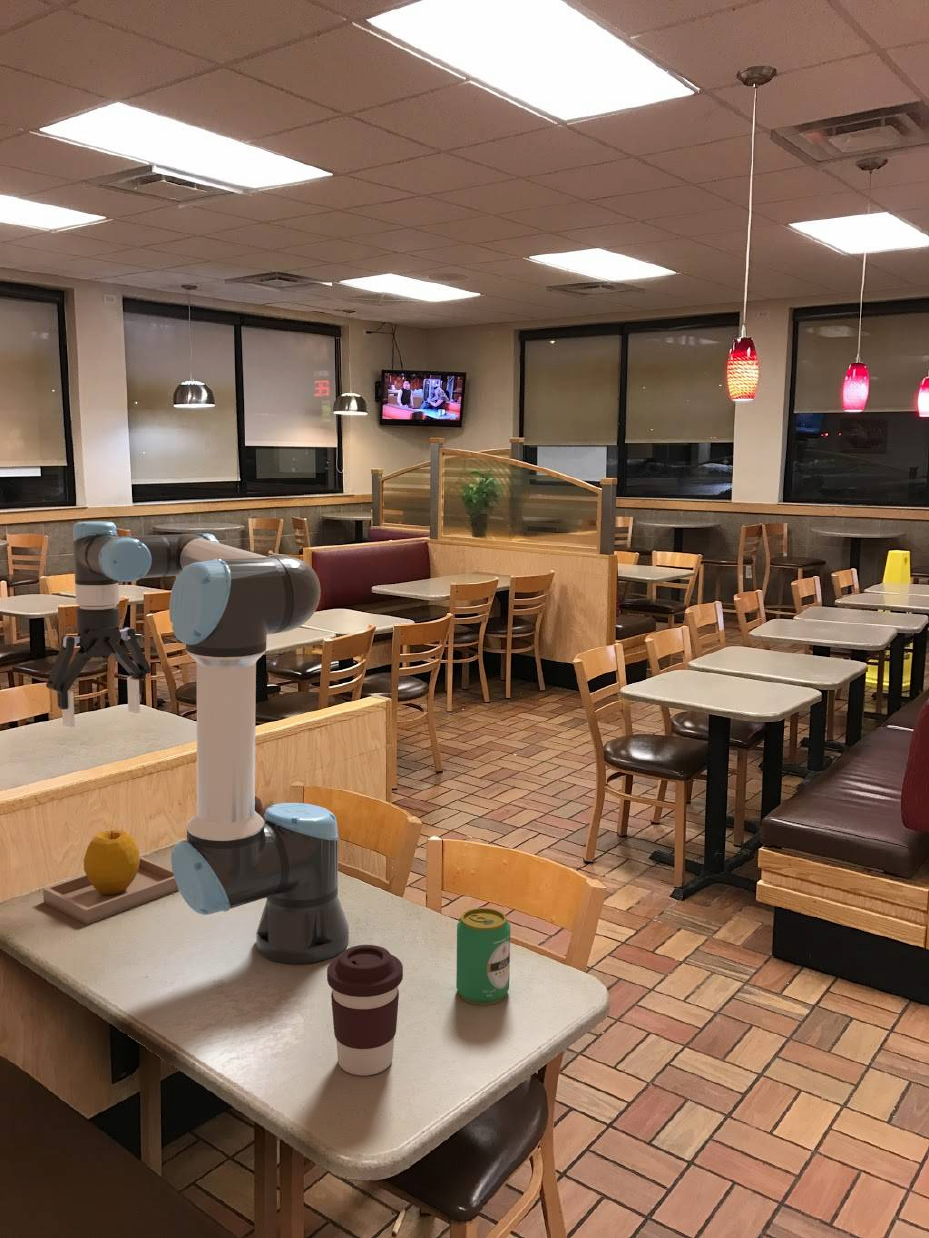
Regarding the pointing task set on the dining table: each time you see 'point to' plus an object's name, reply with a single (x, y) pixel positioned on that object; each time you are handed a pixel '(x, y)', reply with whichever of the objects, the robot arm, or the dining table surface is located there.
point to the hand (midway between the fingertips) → (102, 718)
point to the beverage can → (483, 956)
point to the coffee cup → (365, 1007)
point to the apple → (111, 861)
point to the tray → (92, 906)
